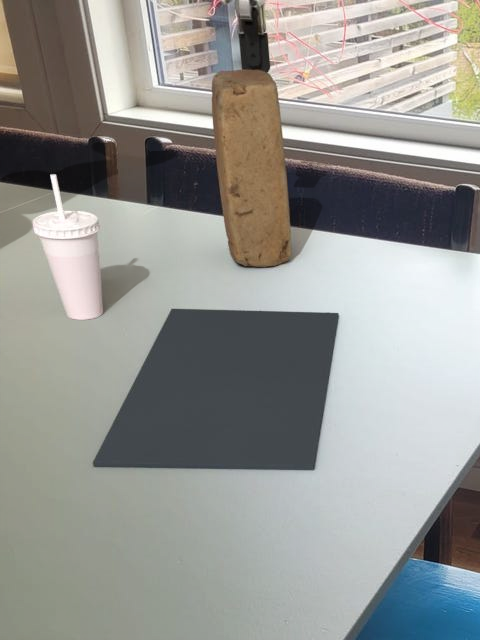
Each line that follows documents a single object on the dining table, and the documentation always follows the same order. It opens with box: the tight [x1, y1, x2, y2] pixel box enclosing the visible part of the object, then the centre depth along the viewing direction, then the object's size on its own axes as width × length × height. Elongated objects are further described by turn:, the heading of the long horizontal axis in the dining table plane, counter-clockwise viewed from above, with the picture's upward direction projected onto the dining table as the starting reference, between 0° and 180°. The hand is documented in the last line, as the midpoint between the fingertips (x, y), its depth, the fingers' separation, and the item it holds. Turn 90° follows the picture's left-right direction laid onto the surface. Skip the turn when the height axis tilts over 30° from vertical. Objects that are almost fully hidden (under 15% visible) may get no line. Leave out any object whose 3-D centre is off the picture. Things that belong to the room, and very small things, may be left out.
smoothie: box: [32, 173, 104, 321], centre depth 102 cm, size 6×6×14 cm
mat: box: [92, 308, 340, 471], centre depth 95 cm, size 18×34×1 cm, turn 3°
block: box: [211, 69, 292, 268], centre depth 117 cm, size 11×8×20 cm
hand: (256, 71), depth 120 cm, fingers closed
